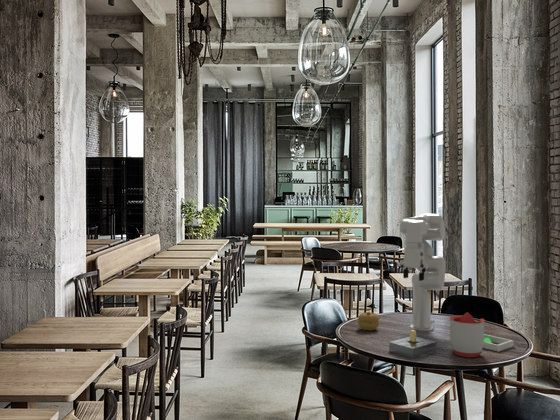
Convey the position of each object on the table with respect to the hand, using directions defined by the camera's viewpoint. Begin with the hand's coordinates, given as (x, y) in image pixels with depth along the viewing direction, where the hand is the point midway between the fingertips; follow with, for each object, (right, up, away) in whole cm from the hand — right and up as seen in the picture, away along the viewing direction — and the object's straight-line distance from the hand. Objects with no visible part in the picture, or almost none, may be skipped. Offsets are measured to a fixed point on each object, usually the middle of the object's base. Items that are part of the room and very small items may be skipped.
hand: (413, 279), depth 280 cm
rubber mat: (+1, -32, +6) cm, 33 cm away
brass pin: (-4, -33, -15) cm, 36 cm away
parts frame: (+36, -33, -3) cm, 49 cm away
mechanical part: (+36, -33, -1) cm, 48 cm away
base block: (-4, -33, -15) cm, 36 cm away
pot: (-19, -32, +26) cm, 45 cm away
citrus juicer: (+21, -33, -19) cm, 44 cm away
